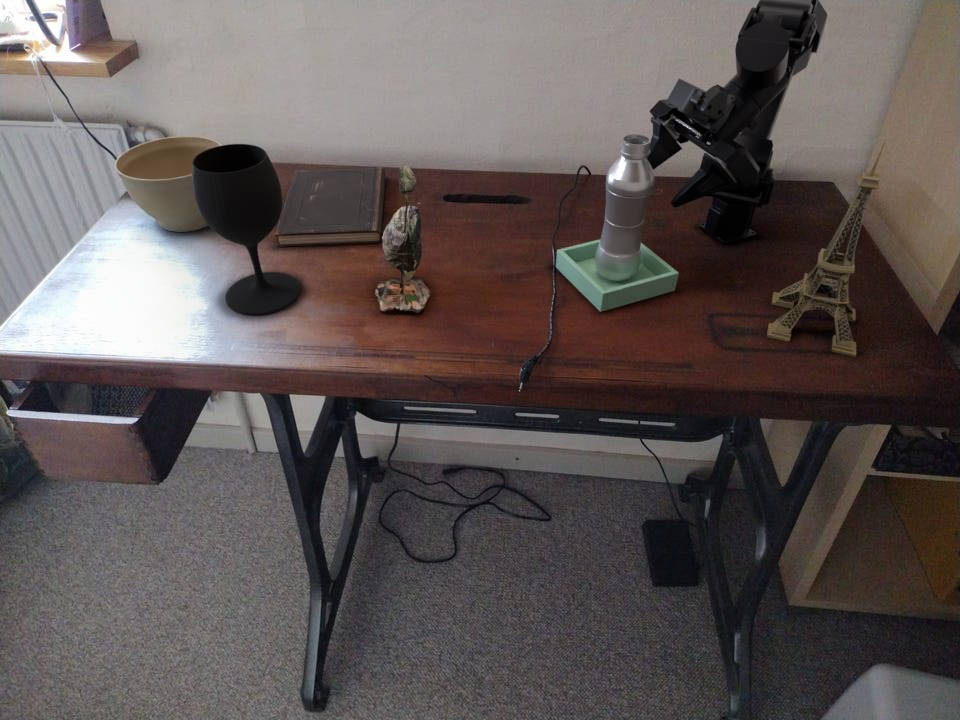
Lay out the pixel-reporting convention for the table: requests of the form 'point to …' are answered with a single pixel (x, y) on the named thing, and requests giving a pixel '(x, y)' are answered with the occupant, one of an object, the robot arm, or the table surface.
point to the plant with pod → (403, 254)
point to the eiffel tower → (833, 266)
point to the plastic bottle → (625, 209)
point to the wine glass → (244, 219)
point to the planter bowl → (165, 179)
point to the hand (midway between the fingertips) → (654, 190)
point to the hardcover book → (333, 207)
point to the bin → (611, 294)
